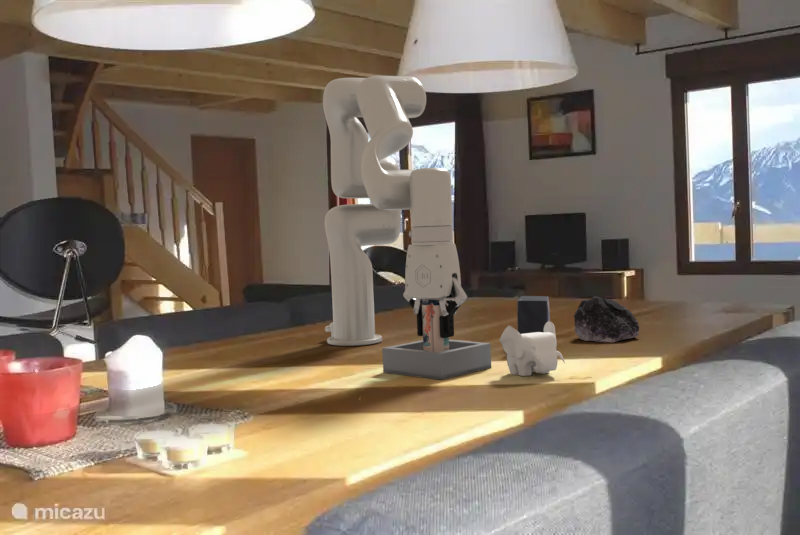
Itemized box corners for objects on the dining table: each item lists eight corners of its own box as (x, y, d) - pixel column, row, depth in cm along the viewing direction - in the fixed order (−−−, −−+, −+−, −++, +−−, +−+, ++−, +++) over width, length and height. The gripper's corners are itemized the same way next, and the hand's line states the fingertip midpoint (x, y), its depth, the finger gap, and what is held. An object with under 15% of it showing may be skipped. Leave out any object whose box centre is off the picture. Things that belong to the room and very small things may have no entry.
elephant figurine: (532, 383, 143) (530, 329, 142) (491, 373, 153) (490, 323, 153) (578, 376, 147) (576, 324, 147) (535, 367, 158) (534, 318, 157)
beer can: (422, 352, 161) (419, 287, 160) (447, 350, 161) (445, 286, 160) (425, 356, 156) (422, 289, 155) (451, 354, 156) (448, 288, 156)
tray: (383, 372, 158) (382, 347, 158) (433, 361, 168) (433, 338, 168) (441, 379, 148) (440, 353, 148) (491, 367, 159) (490, 343, 158)
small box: (549, 351, 176) (547, 299, 175) (517, 351, 177) (515, 300, 176) (551, 343, 186) (549, 294, 185) (520, 343, 187) (518, 295, 187)
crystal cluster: (650, 343, 185) (651, 297, 186) (593, 343, 182) (594, 295, 182) (618, 340, 198) (618, 297, 199) (564, 340, 194) (565, 296, 195)
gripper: (384, 237, 160) (388, 335, 161) (454, 236, 149) (458, 342, 150) (411, 236, 166) (415, 330, 167) (481, 235, 154) (485, 336, 155)
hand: (435, 335), depth 158 cm, fingers closed on beer can, 4 cm apart
